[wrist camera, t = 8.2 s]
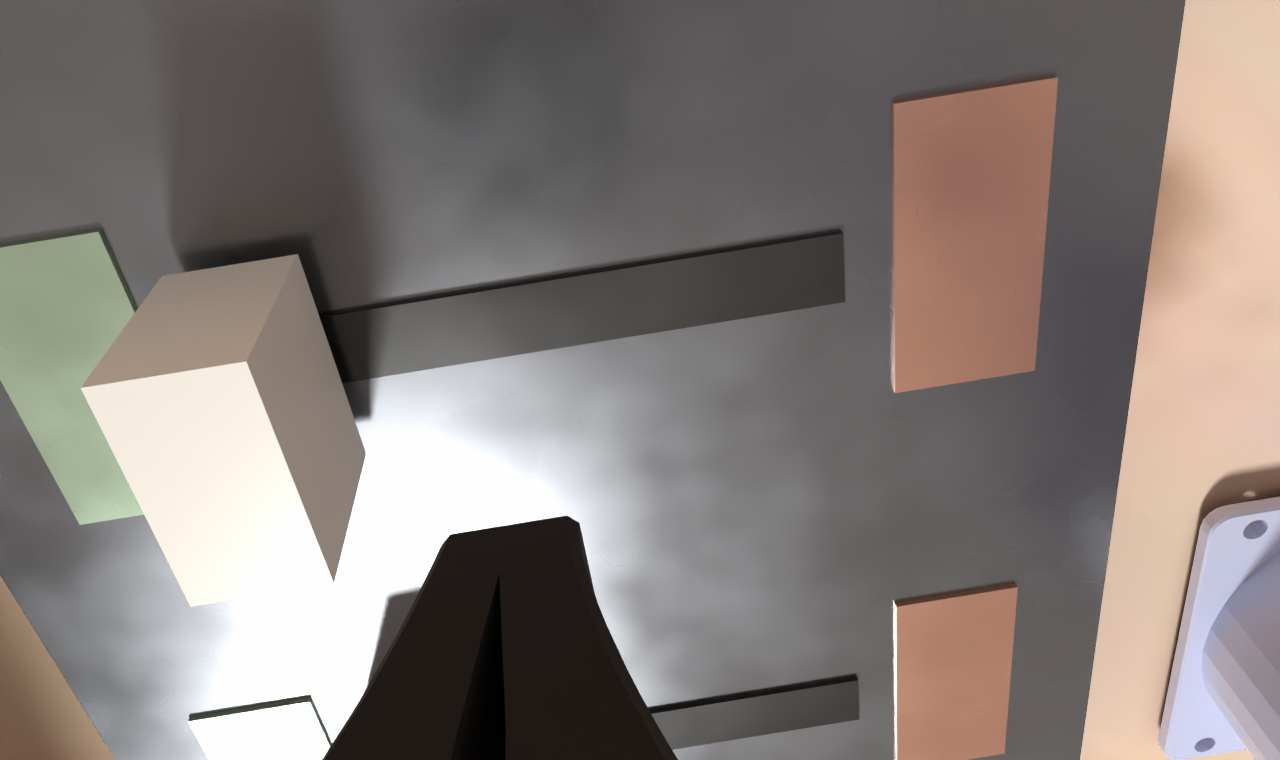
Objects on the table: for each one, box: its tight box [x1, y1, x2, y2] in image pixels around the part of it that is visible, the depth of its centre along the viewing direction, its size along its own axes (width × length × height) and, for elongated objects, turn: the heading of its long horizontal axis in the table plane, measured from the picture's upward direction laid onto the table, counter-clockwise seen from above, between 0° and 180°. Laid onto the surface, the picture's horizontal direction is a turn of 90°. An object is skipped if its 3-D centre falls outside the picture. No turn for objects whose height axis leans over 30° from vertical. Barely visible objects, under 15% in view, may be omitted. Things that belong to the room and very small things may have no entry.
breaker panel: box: [0, 0, 1185, 760], centre depth 20 cm, size 20×24×2 cm
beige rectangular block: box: [81, 254, 366, 607], centre depth 15 cm, size 2×4×3 cm, turn 7°
